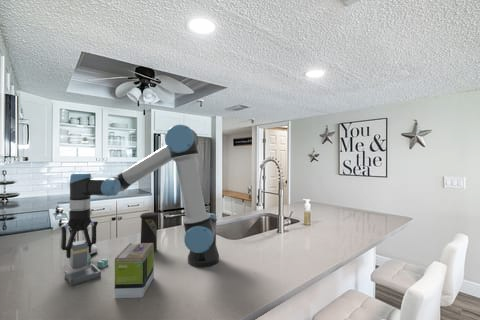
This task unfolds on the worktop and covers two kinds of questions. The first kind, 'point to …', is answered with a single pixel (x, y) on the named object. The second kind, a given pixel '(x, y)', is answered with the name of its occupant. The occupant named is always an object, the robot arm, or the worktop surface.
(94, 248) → the flower in vase
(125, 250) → the tea box
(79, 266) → the grey box with stripe
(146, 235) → the container
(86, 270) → the grey square tray
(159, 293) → the worktop surface
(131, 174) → the robot arm
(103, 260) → the clip
